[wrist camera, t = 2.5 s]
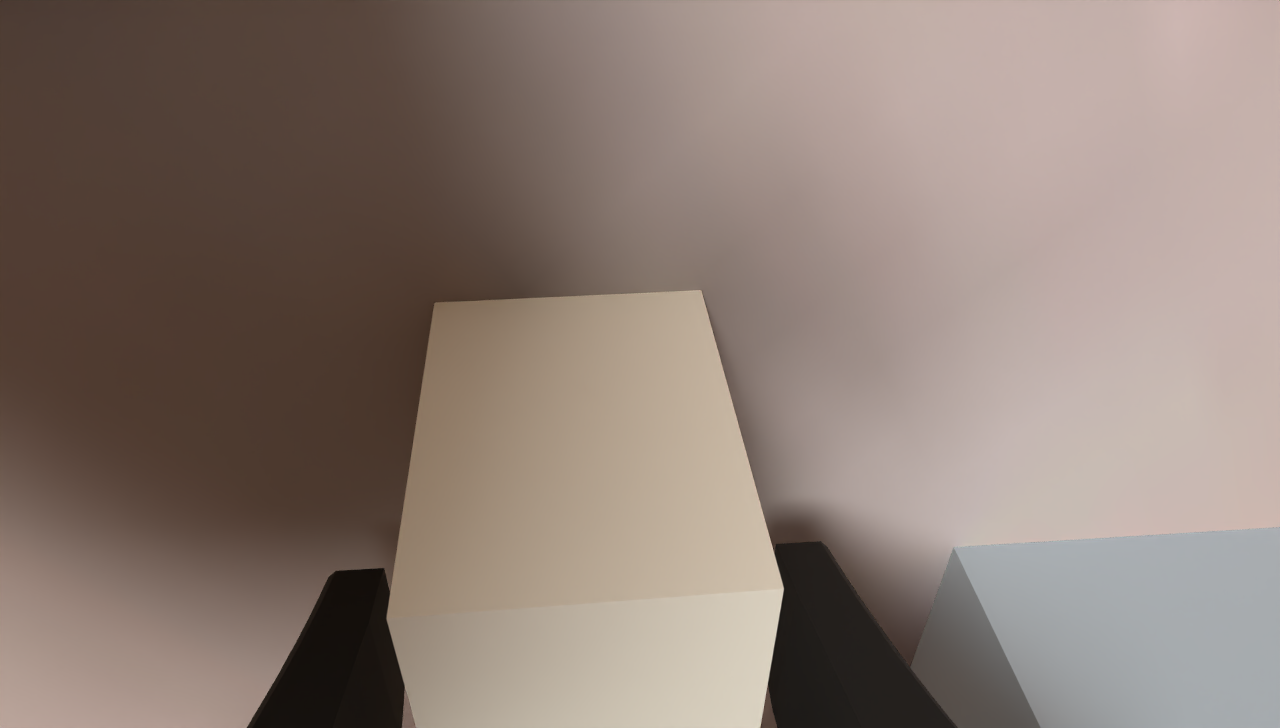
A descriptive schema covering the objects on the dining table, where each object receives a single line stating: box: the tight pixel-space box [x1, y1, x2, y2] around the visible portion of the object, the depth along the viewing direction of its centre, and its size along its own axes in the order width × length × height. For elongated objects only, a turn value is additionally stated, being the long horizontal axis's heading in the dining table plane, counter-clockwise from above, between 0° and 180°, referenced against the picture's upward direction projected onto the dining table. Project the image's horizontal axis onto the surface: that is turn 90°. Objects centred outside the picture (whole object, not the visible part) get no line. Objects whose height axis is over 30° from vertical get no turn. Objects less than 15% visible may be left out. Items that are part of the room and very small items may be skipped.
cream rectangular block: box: [386, 290, 784, 728], centre depth 11 cm, size 3×8×5 cm, turn 0°
